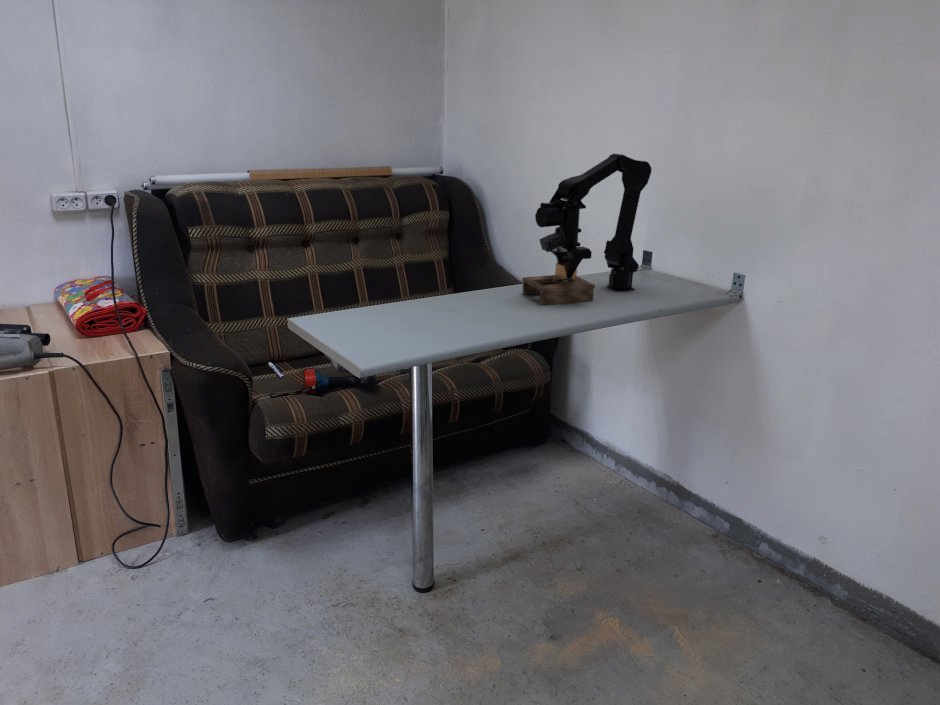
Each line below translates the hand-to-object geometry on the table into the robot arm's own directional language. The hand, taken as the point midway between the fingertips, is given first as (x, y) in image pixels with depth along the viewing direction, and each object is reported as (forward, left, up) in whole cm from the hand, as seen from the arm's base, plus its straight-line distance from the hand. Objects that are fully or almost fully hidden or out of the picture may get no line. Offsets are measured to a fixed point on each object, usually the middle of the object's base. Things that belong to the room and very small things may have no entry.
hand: (565, 276), depth 214 cm
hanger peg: (0, 0, -5) cm, 4 cm away
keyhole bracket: (+2, 0, -6) cm, 6 cm away
